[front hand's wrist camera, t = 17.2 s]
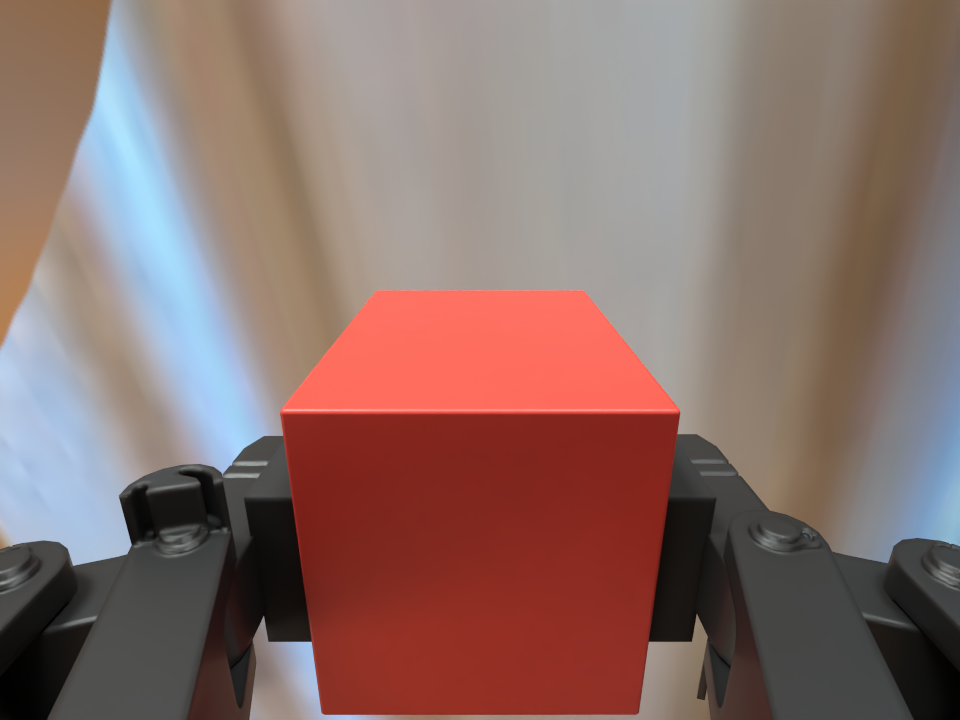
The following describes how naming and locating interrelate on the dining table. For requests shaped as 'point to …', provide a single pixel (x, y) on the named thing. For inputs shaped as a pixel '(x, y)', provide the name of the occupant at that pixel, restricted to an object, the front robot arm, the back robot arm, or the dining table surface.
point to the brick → (480, 506)
